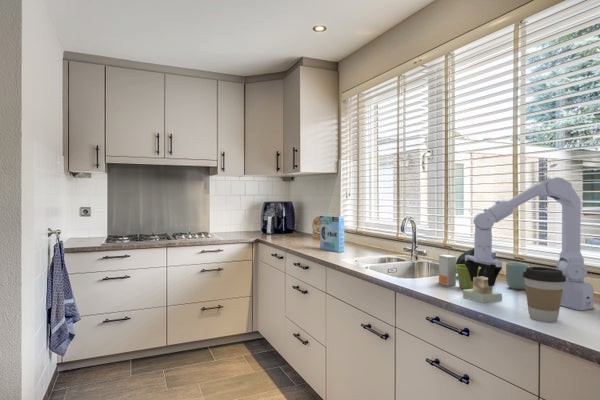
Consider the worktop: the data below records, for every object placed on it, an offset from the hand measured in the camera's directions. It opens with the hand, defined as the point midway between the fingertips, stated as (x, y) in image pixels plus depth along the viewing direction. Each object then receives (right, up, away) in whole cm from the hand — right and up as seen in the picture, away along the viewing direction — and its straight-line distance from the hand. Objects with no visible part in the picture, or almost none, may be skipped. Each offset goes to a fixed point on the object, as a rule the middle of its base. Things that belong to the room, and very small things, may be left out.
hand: (482, 283), depth 141 cm
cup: (+21, -6, +16) cm, 27 cm away
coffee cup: (+8, -6, -23) cm, 25 cm away
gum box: (-45, -3, +117) cm, 125 cm away
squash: (+12, -5, +33) cm, 35 cm away
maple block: (0, -3, 0) cm, 3 cm away
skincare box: (-4, -5, +22) cm, 23 cm away
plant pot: (+2, -5, +16) cm, 17 cm away
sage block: (0, -6, 0) cm, 6 cm away
